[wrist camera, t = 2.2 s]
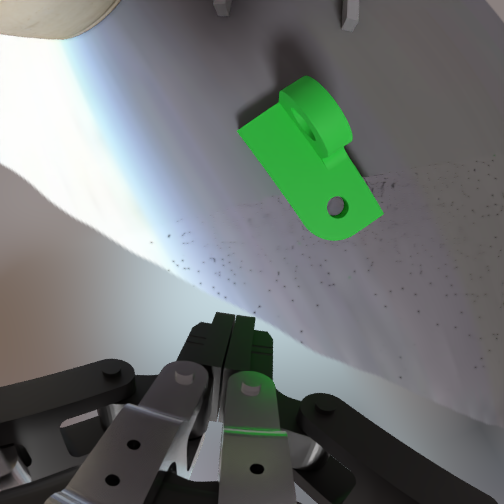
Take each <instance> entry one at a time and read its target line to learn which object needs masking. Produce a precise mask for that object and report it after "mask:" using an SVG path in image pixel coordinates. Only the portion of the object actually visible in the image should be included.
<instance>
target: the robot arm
mask: <svg viewBox="0 0 504 504" xmlns="http://www.w3.org/2000/svg"><path fill="white" fill-rule="evenodd" d="M254 326H255V317H247V316H241V315H237V316H236V320H235V315H233V314H226V313H220V312H216V314H215V317H214V319H213V322H212V324H210V323H204V322H201V323H199V324H198V325H196V326H194V327H193V328H192V330H191V332H190V334H189V336H188V338H187V340H186V342H185V344H184V346H183V348H182V350H181V352H180V354H179V356H178V358H177V361H175V362H172V363H169V364H167V365H166V366H165V367H164V368H163V369H162V370H161V372H160V374H158V375H135V372H134V369H133V367H132V366H131V365H130V364H129V363H127V362H125V361H122V360H118V359H105V360H101V361H97V362H94V363H90V364H87V365H84V366H80V367H77V368H73V369H69V370H66V371H62V372H58V373H55V374H51V375H47V376H43V377H40V378H36V379H32V380H28V381H24V382H20V383H16V384H12V385H8V386H3V387H0V504H301V503H299V502H297V501H296V493H295V486H294V482H295V483H296V484H297V485H298V486H299V487H300V488H301V489H303V490H304V491H305V492H306V493H307V494H308V495H309V496H310V497H311V498H312V499H313V500H314V501H316V502H317V503H318V504H498V503H497V502H496V501H495V500H494V499H493V498H492V497H491V496H489V495H487V494H485V493H484V492H482V491H480V490H478V489H477V488H475V487H473V486H471V485H470V484H468V483H466V482H464V481H463V480H461V479H459V478H458V477H456V476H454V475H453V474H451V473H449V472H448V471H446V470H444V469H443V468H441V467H440V466H438V465H436V464H435V463H433V462H432V461H430V460H429V459H427V458H425V457H424V456H422V455H421V454H419V453H417V452H416V451H414V450H413V449H411V448H410V447H408V446H407V445H405V444H404V443H402V442H401V441H399V440H398V439H396V438H395V437H393V436H392V435H391V434H389V433H387V432H386V431H385V430H383V429H382V428H380V427H379V426H377V425H376V424H374V423H373V422H372V421H370V420H369V419H367V418H365V417H364V416H363V415H362V414H360V413H359V412H357V411H356V410H355V409H353V408H352V407H350V406H349V405H348V404H346V403H345V402H344V401H342V400H341V399H339V398H337V397H335V396H333V395H330V394H325V393H314V394H311V395H308V396H306V397H305V398H304V399H303V400H302V401H298V400H295V399H292V398H289V397H287V396H285V395H283V394H282V393H280V392H279V391H278V390H277V389H276V388H275V384H274V382H273V339H272V337H271V336H270V335H269V333H268V332H265V331H258V330H254ZM219 408H220V411H219ZM96 409H97V412H98V416H97V417H94V418H91V419H88V420H85V421H82V422H79V423H76V424H73V425H70V426H67V427H63V428H60V425H61V423H62V422H63V421H65V420H66V419H69V418H73V417H76V416H79V415H82V414H85V413H88V412H91V411H94V410H96ZM218 412H219V422H222V423H223V427H222V436H221V446H220V458H219V470H218V481H213V482H212V481H211V482H194V481H190V480H189V479H190V476H191V474H192V471H193V468H194V466H195V463H196V460H197V458H198V455H199V452H200V450H201V447H202V444H203V441H204V438H205V432H206V430H207V427H208V423H209V421H215V422H216V421H217V417H218ZM331 455H332V456H333V457H332V456H331ZM337 460H338V461H339V462H338V461H337ZM342 464H343V465H344V466H343V465H342ZM347 468H348V469H349V470H348V469H347Z"/></svg>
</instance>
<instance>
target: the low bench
mask: <svg viewBox="0 0 504 504" xmlns="http://www.w3.org/2000/svg"><path fill="white" fill-rule="evenodd" d="M231 3H232V0H214V2H213V5H214V7H215V10H216V12H217V15H218V16H229V14H230V9H231ZM358 21H359V0H343V6H342V27H341V30H346V31H350V32H352V31H353V30H354V28H355V26H356V25H357V23H358Z"/></svg>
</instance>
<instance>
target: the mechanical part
mask: <svg viewBox="0 0 504 504" xmlns="http://www.w3.org/2000/svg"><path fill="white" fill-rule="evenodd" d="M237 132H238V133H239V135H240V136H241V137H242V139H243V140H244V141H245V143H246V144H247V145H248V147H249V148H250V149H251V151H252V152H253V153H254V155H255V156H256V158H257V159H258V160H259V162H260V163H261V164H262V166H263V167H264V168H265V170H266V171H267V173H268V174H269V175H270V177H271V178H272V180H273V181H274V182H275V184H276V185H277V186H278V188H279V189H280V191H281V192H282V194H283V195H284V196H285V198H286V199H287V201H288V202H289V203H290V205H291V206H292V208H293V209H294V211H295V212H296V214H297V215H298V216H299V218H300V219H301V221H302V222H303V224H304V225H305V226H306V228H307V229H308V230H309V231H310V232H311V233H313V234H314V235H316V236H318V237H320V238H322V239H326V240H333V241H335V240H343V239H346V238H349V237H351V236H353V235H354V234H356V233H357V232H359V231H360V230H362V229H363V228H364V227H366V226H367V225H369V224H370V223H372V222H373V221H374V220H376V219H377V218H379V217H380V216H382V215H383V214H384V213H383V211H382V210H381V208H380V206H379V204H378V203H377V201H376V199H375V198H374V196H373V194H372V193H371V191H370V190H369V188H368V186H367V185H366V183H365V181H364V180H363V178H362V177H361V175H360V173H359V172H358V170H357V169H356V167H355V166H354V164H353V163H352V161H351V160H350V158H349V157H348V155H347V153H346V151H345V149H344V146H345V145H347V144H348V143H350V142H351V141H352V132H351V129H350V126H349V124H348V122H347V119H346V118H345V116H344V114H343V112H342V111H341V109H340V107H339V106H338V104H337V103H336V102H335V100H334V99H333V98H332V96H331V95H330V94H329V93H328V92H327V91H326V89H325V88H324V87H323V86H322V85H321V84H319V83H318V82H317V81H316V80H314V79H313V78H311V77H309V76H303V77H302V78H300V79H298V80H297V81H295V82H294V83H292V84H290V85H289V86H287V87H286V88H284V89H283V90H281V91H280V92H279V102H278V103H277V104H275V105H274V106H272V107H271V108H269V109H268V110H266V111H265V112H263V113H262V114H260V115H259V116H258V117H256V118H255V119H253V120H252V121H250V122H249V123H247V124H246V125H245V126H243V127H242V128H240V129H239V130H238V131H237ZM335 196H340V197H341V198H342V199H343V202H344V208H343V210H342V212H341V213H340V214H338V215H329V214H328V212H327V203H328V201H329V200H330V199H331V198H332V197H335Z"/></svg>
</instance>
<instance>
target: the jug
mask: <svg viewBox="0 0 504 504" xmlns="http://www.w3.org/2000/svg"><path fill="white" fill-rule="evenodd" d="M120 1H121V0H0V34H3V35H9V36H17V37H27V38H40V39H62V40H63V39H69V38H72V37H75V36H78V35H80V34H82V33H84V32H86V31H88V30H89V29H91V28H92V27H94V26H95V25H97V24H98V23H99V22H101V21H102V20H103V19H104V18H105V17H106V16H107V15H108V14H109V13H110V12H111V11H112V10H113V9H114V8H115V7H116V6H117V5H118V3H119V2H120Z"/></svg>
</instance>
